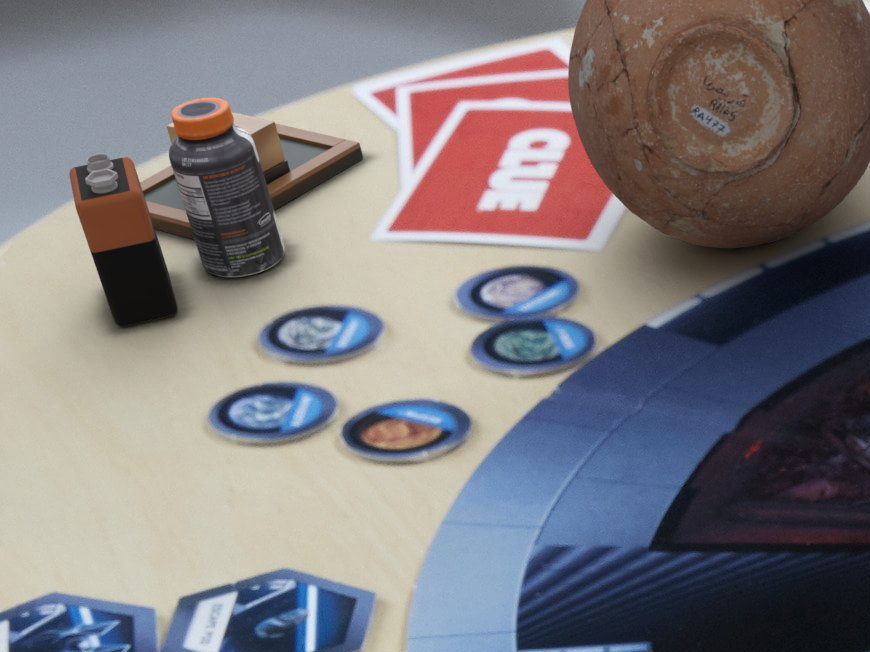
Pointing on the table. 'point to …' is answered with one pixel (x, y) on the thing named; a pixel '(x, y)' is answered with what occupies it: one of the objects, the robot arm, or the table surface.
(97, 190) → the battery
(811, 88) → the jug
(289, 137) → the board
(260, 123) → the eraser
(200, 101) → the pill bottle
